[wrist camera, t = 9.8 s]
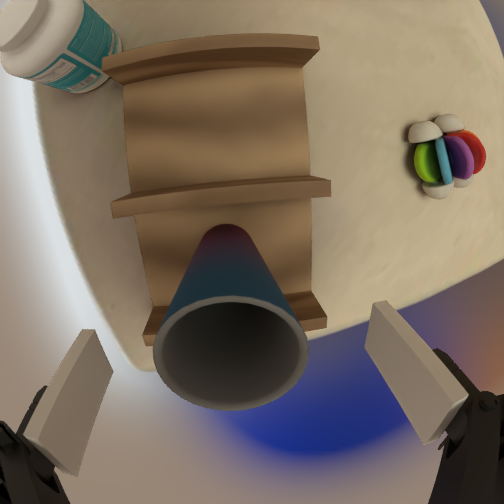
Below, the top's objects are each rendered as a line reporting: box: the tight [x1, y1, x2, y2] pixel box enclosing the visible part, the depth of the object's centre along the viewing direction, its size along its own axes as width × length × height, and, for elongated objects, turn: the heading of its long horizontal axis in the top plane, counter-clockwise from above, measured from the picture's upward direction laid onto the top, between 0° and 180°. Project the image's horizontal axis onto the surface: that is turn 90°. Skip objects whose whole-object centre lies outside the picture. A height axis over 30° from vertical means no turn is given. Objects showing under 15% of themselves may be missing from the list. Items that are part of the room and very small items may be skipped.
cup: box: [153, 224, 309, 411], centre depth 18 cm, size 7×7×15 cm
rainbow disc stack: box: [408, 114, 486, 199], centre depth 22 cm, size 8×10×7 cm
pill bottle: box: [0, 0, 122, 93], centre depth 12 cm, size 8×7×14 cm
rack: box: [102, 34, 331, 346], centre depth 21 cm, size 24×16×6 cm, turn 4°
